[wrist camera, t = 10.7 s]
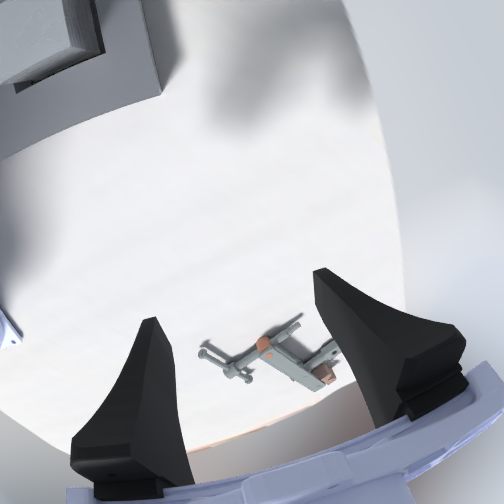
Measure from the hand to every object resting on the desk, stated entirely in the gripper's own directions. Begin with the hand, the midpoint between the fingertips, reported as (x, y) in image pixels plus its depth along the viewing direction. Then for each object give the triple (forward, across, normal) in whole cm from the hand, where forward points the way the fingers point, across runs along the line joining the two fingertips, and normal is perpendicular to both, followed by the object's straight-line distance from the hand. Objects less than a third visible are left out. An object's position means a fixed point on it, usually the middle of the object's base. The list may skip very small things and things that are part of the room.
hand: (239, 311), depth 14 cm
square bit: (+10, +6, -15) cm, 18 cm away
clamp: (+10, -3, +17) cm, 20 cm away
